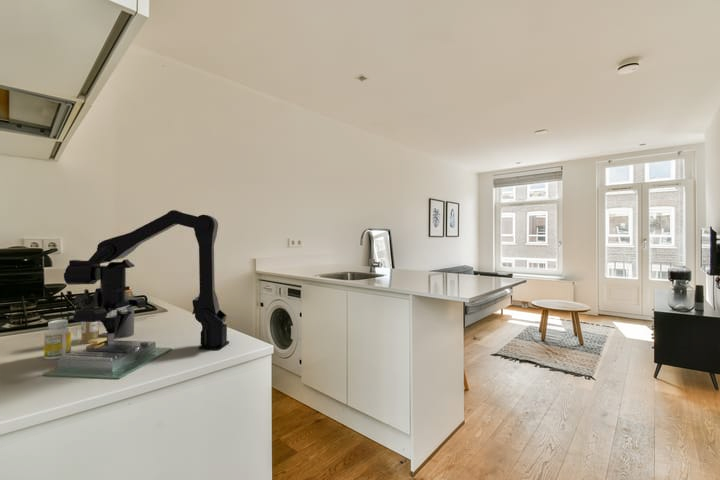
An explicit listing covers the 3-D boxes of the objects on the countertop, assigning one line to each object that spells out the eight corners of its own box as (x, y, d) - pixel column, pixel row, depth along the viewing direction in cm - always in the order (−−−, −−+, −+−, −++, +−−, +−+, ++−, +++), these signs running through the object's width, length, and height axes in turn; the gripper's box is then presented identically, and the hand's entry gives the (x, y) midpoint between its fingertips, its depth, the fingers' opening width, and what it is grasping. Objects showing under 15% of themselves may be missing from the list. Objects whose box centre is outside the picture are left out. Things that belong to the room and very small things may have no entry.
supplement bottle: (51, 361, 85) (51, 325, 85) (39, 358, 87) (39, 322, 87) (75, 354, 90) (75, 320, 90) (63, 351, 92) (64, 318, 92)
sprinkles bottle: (98, 342, 100) (98, 299, 100) (79, 345, 98) (79, 300, 97) (100, 338, 104) (100, 296, 104) (81, 340, 101) (82, 298, 101)
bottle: (108, 336, 106) (108, 291, 106) (126, 331, 111) (126, 288, 111) (119, 339, 104) (119, 292, 103) (138, 334, 109) (138, 289, 109)
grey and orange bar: (143, 348, 87) (143, 344, 87) (134, 353, 83) (134, 348, 83) (96, 346, 87) (96, 342, 87) (85, 350, 84) (85, 346, 84)
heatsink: (171, 350, 94) (171, 334, 94) (119, 378, 75) (119, 359, 75) (110, 347, 96) (110, 332, 96) (43, 375, 77) (43, 356, 77)
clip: (114, 343, 90) (114, 333, 90) (98, 349, 85) (98, 339, 85) (103, 342, 90) (103, 332, 90) (87, 349, 85) (87, 338, 85)
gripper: (113, 278, 101) (113, 328, 101) (53, 288, 82) (52, 349, 83) (147, 279, 100) (147, 329, 101) (94, 289, 82) (94, 350, 82)
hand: (112, 338), depth 91 cm, fingers closed
